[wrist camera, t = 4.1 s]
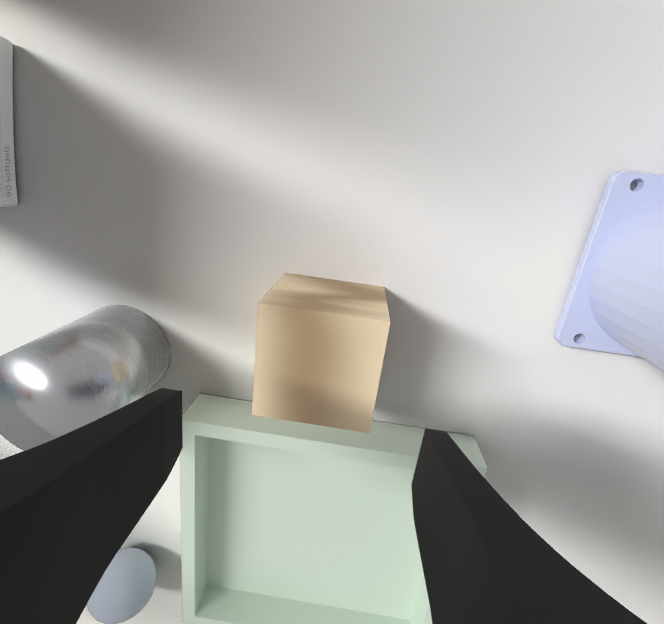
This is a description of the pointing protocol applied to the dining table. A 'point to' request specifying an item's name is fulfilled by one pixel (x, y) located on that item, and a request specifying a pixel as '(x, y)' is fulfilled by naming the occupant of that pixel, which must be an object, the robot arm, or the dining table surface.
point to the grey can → (79, 374)
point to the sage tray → (299, 519)
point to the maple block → (320, 352)
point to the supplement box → (7, 127)
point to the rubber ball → (123, 587)
